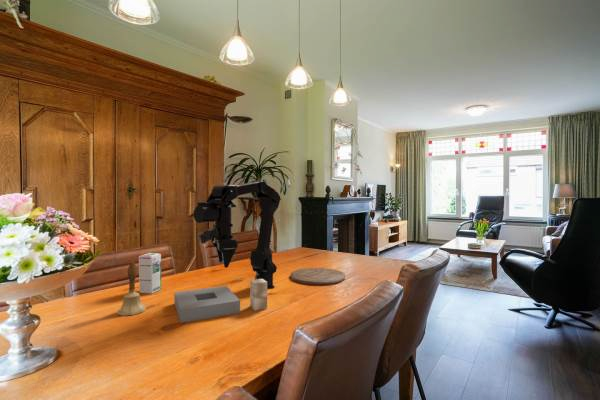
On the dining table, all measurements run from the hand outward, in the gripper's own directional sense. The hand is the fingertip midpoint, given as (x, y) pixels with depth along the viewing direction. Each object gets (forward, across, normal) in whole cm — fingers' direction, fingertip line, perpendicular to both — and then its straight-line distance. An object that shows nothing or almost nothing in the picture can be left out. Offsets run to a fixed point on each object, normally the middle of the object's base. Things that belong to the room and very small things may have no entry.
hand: (223, 264), depth 111 cm
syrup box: (+13, -23, -24) cm, 36 cm away
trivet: (+14, -15, +46) cm, 50 cm away
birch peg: (+13, +11, +10) cm, 19 cm away
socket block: (+13, +4, -7) cm, 15 cm away
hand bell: (+13, -3, -29) cm, 32 cm away
